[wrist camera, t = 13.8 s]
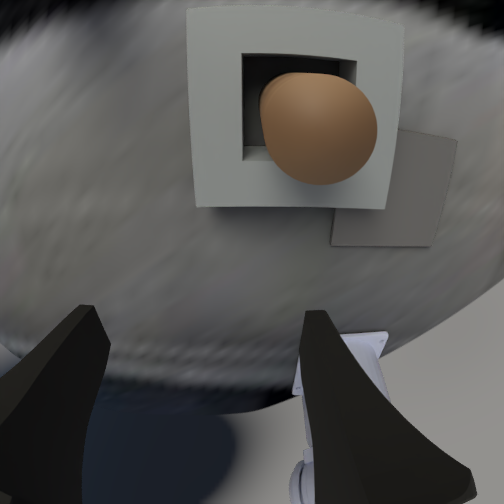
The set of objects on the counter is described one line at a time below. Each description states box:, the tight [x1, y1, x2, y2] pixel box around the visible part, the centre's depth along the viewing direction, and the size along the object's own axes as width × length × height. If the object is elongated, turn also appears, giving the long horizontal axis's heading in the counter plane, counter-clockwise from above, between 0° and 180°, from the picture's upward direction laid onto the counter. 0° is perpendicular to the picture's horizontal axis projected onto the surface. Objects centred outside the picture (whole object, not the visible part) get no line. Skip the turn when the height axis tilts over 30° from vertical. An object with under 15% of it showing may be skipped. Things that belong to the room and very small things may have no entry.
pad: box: [330, 129, 458, 246], centre depth 18 cm, size 8×8×1 cm
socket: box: [186, 5, 404, 209], centre depth 14 cm, size 10×10×3 cm
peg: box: [259, 72, 377, 185], centre depth 12 cm, size 4×4×8 cm
